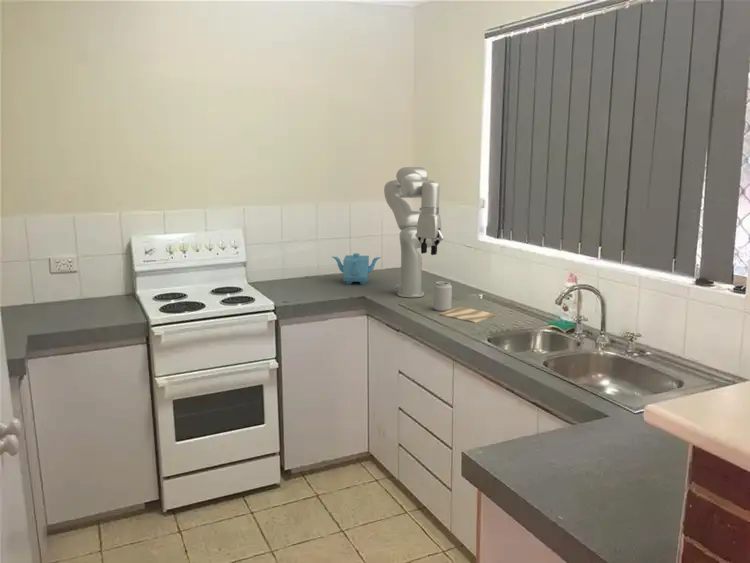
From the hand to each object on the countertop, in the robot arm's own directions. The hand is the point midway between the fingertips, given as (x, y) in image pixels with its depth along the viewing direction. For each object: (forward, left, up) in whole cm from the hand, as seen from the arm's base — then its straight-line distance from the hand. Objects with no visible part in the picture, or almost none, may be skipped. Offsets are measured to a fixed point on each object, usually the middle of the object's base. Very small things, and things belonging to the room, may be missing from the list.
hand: (428, 253), depth 287 cm
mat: (+21, 0, -23) cm, 31 cm away
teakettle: (-56, +14, -24) cm, 62 cm away
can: (+8, 0, -24) cm, 25 cm away
